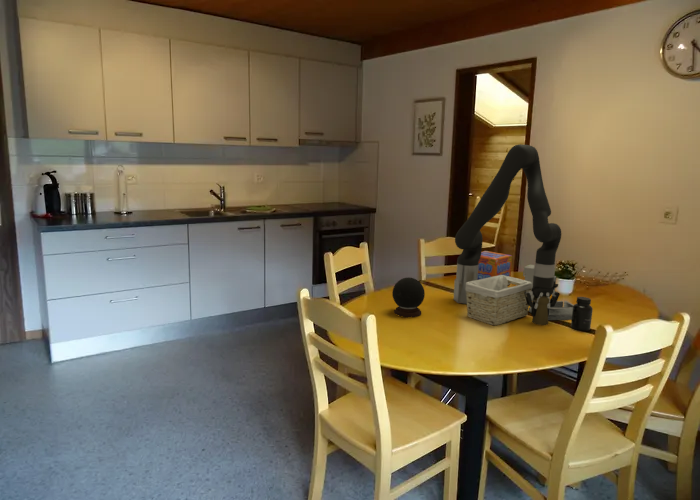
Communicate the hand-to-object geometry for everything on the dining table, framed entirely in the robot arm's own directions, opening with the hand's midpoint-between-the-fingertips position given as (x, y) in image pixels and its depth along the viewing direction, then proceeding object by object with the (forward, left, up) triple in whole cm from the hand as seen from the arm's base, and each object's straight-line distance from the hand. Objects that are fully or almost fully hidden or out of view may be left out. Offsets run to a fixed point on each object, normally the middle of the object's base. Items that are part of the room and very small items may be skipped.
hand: (539, 316), depth 197 cm
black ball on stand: (-50, +15, -3) cm, 52 cm away
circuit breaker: (+15, +30, -3) cm, 34 cm away
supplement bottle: (+13, -8, -3) cm, 15 cm away
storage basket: (-14, +8, -3) cm, 17 cm away
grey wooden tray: (+10, +8, -2) cm, 13 cm away
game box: (+2, +58, -3) cm, 58 cm away
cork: (0, -1, -3) cm, 3 cm away
